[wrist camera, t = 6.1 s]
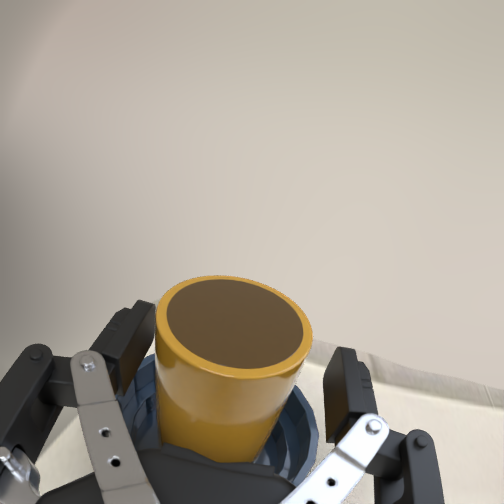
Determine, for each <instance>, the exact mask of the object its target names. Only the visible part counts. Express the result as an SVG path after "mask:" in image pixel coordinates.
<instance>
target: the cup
mask: <svg viewBox="0 0 504 504" xmlns="http://www.w3.org/2000/svg"><path fill="white" fill-rule="evenodd" d="M312 341H313V335H312V328H311V325H310V322H309V320H308V318H307V316H306V315H305V313H304V312H303V311H302V310H301V308H300V307H299V306H298V305H297V304H296V303H295V302H293V301H292V300H291V299H290V298H289V297H287V296H286V295H284V294H282V293H281V292H279V291H277V290H276V289H274V288H271V287H269V286H267V285H264V284H262V283H259V282H256V281H253V280H249V279H245V278H239V277H233V276H221V275H220V276H219V275H214V276H203V277H197V278H192V279H189V280H186V281H184V282H181V283H179V284H177V285H175V286H174V287H172V288H171V289H170V290H168V291H167V292H166V293H165V294H164V295H163V297H162V298H161V300H160V301H159V303H158V306H157V309H156V315H155V396H156V421H157V439H158V448H161V449H162V446H163V443H164V442H165V443H169V444H172V445H176V446H179V447H183V448H187V449H190V450H193V451H195V452H197V453H199V454H201V455H203V456H205V457H207V458H209V459H211V460H213V461H216V462H220V463H231V462H250V463H256V461H257V459H258V457H259V455H260V454H261V452H262V450H263V448H264V446H265V444H266V442H267V440H268V438H269V436H270V434H271V433H272V431H273V429H274V427H275V425H276V423H277V421H278V419H279V417H280V415H281V413H282V410H283V408H284V406H285V404H286V402H287V400H288V398H289V396H290V394H291V392H292V390H293V387H294V385H295V383H296V381H297V379H298V377H299V374H300V372H301V370H302V368H303V365H304V363H305V361H306V359H307V356H308V354H309V352H310V349H311V347H312Z"/></svg>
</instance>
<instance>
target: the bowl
mask: <svg viewBox="0 0 504 504" xmlns="http://www.w3.org/2000/svg"><path fill="white" fill-rule="evenodd" d="M115 398H116V399H117V401H118V404H119V407H120V410H121V413H122V415H123V418H124V421H125V424H126V427H127V429H128V432H129V435H130V438H131V440H132V443H133V445H134V448H135V450H136V451H139V450H143V449H150V448H158V439H157V421H156V396H155V354H152V355H149V356H147V357H146V358H144V359H143V361H142V363H141V365H140V367H139V369H138V370H137V372H136V374H135V376H134V378H133V380H132V382H131V384H130V386H129V388H128V390H127V392H126V394H125V396H124V397H123V396H120V395H118V394H116V395H115ZM318 439H319V433H318V429H317V424H316V420H315V416H314V412H313V410H312V408H311V406H310V405H309V403H308V401H307V400H306V398H305V397H304V395H303V394H302V392H301V390H300V389H299V388H298V387H297V386H296V385H294V387H293V390H292V392H291V394H290V396H289V398H288V400H287V402H286V404H285V406H284V408H283V410H282V413H281V415H280V417H279V419H278V421H277V423H276V425H275V427H274V429H273V431H272V433H271V434H270V436H269V438H268V440H267V442H266V444H265V446H264V448H263V450H262V452H261V454H260V455H259V457H258V459H257V461H256V464H263V465H270V466H275V470H274V473H275V474H278V475H280V476H282V477H284V478H285V479H287V480H288V481H290V482H291V483H292V484H294V485H295V486H296V487H297V486H299V485H300V484H301V483H302V482H303V481H304V480H305V478H306V476H307V475H308V473H309V471H310V470H311V468H312V466H313V465H314V463H315V460H316V453H317V446H318Z"/></svg>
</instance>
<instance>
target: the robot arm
mask: <svg viewBox="0 0 504 504" xmlns="http://www.w3.org/2000/svg"><path fill="white" fill-rule="evenodd" d="M155 310H156V307H155V304H153V303H149V302H145V301H142V300H138V301H137V302H136V303H135V305H134V306H133V308H132V309H129V308H123V309H122V310H120V311H118V312H116V313H115V315H114V316H113V317H112V319H111V320H110V322H109V323H108V324H107V325H106V328H104V329H103V331H102V332H101V334H100V335H99V336H98V338H97V339H96V340H95V342H94V343H93V345H92V346H91V347H90V349H89V350H85V351H81V352H78V353H77V354H75V355H74V356H73V357H61V356H53V354H52V351H51V350H50V348H49V347H47V346H46V345H43V344H33V345H30V346H28V347H27V348H25V349H24V351H23V352H22V353H21V355H20V356H19V357H18V359H17V360H16V361H15V362H14V364H13V365H12V367H11V368H10V369H9V371H8V372H7V373H6V375H5V376H4V378H3V379H2V381H1V382H0V504H341V503H342V502H343V501H344V499H345V498H346V497H347V496H348V494H349V493H350V492H351V491H352V489H353V488H354V487H355V485H356V484H357V483H358V482H359V480H360V479H361V478H362V476H363V475H364V473H368V474H371V475H374V498H375V504H445V503H444V496H443V489H442V483H441V477H440V471H439V466H438V461H437V456H436V451H435V446H434V442H433V439H432V437H431V436H430V435H429V434H428V433H427V432H425V431H423V430H419V429H416V430H412V431H410V432H409V433H408V434H407V435H405V434H402V433H399V432H396V431H393V430H391V429H389V426H388V424H387V422H386V421H385V420H384V419H383V418H382V417H381V416H379V415H378V411H377V406H376V401H375V396H374V391H373V389H372V388H373V386H372V382H371V377H370V373H369V370H368V368H367V367H366V365H365V364H364V363H363V362H360V361H358V360H357V355H356V351H355V349H351V348H345V347H337V348H336V350H335V352H334V354H333V356H332V358H331V360H330V362H329V364H328V366H327V368H326V370H325V373H324V377H323V392H324V408H325V427H326V443H335V448H334V449H333V450H332V451H331V452H330V453H329V454H328V455H327V456H326V458H325V459H324V460H323V461H322V462H321V463H320V464H319V465H318V466H317V467H316V468H315V469H314V470H313V471H312V472H311V473H310V474H309V476H308V477H307V478H306V479H305V480H304V481H303V482H302V483H301V484H300V485H299V486H297V487H296V486H295V485H294V484H292V483H291V482H290V481H288V480H287V479H285V478H284V477H282V476H280V475H278V474H275V473H274V470H275V466H270V465H263V464H256V463H250V462H231V463H220V462H216V461H213V460H211V459H209V458H207V457H205V456H203V455H201V454H199V453H197V452H195V451H193V450H190V449H187V448H183V447H179V446H176V445H172V444H169V443H165V442H164V443H163V446H162V449H161V448H150V449H143V450H139V451H136V450H135V448H134V445H133V443H132V440H131V438H130V435H129V432H128V429H127V427H126V424H125V421H124V418H123V415H122V413H121V410H120V407H119V404H118V401H117V399H116V398H115V395H116V394H118V395H120V396H123V397H124V396H125V394H126V392H127V390H128V388H129V386H130V384H131V382H132V380H133V378H134V376H135V374H136V372H137V370H138V369H139V367H140V365H141V363H142V361H143V359H144V357H145V355H146V353H147V352H148V350H149V348H150V346H151V344H152V342H153V339H154V334H155ZM64 406H67V407H75V408H77V409H78V414H79V418H80V423H81V427H82V431H83V435H84V438H85V442H86V446H87V449H88V453H89V456H90V460H91V463H92V466H93V469H94V472H92V473H90V474H88V475H86V476H84V477H81V478H79V479H77V480H75V481H72V482H70V483H68V484H66V485H63V486H61V487H59V488H56V489H54V490H51V491H49V492H47V493H45V494H44V495H42V496H40V493H39V483H40V474H39V471H38V469H37V468H36V467H35V462H36V460H37V458H38V456H39V454H40V452H41V450H42V448H43V446H44V443H45V441H46V439H47V438H48V435H49V433H50V431H51V430H52V427H53V426H54V424H55V422H56V420H57V418H58V416H59V414H60V412H61V410H62V409H63V407H64Z"/></svg>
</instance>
